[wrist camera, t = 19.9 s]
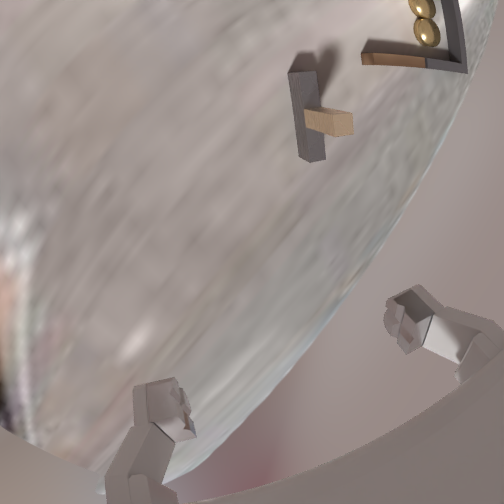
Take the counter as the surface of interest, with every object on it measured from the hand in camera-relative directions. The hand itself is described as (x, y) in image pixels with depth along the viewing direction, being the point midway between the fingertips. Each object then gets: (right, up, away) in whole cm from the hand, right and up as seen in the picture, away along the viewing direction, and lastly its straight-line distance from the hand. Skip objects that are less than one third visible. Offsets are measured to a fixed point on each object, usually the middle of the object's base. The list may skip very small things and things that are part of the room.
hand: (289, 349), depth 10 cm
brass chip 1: (+22, +38, +16) cm, 47 cm away
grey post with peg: (+4, +19, +21) cm, 29 cm away
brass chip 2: (+23, +34, +19) cm, 45 cm away
